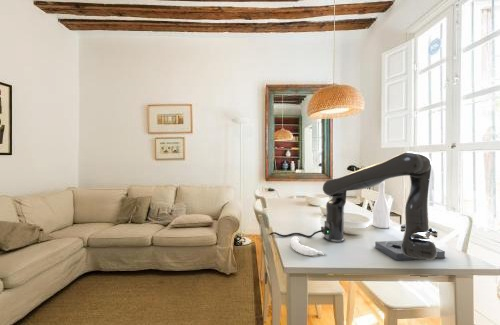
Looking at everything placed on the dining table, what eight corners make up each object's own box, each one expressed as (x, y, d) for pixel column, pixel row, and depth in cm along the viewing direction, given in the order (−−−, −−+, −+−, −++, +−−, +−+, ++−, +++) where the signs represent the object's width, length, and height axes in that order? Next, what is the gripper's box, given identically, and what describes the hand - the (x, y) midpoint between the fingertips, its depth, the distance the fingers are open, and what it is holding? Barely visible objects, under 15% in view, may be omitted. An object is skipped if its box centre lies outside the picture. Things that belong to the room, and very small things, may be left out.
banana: (288, 240, 121) (316, 241, 120) (292, 258, 102) (325, 259, 101) (288, 232, 121) (316, 233, 120) (293, 248, 102) (326, 249, 101)
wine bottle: (369, 224, 152) (370, 180, 152) (382, 224, 153) (383, 180, 153) (378, 228, 143) (380, 182, 142) (392, 228, 144) (393, 182, 143)
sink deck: (396, 260, 99) (396, 253, 99) (375, 247, 113) (375, 241, 113) (444, 257, 102) (444, 251, 102) (418, 245, 116) (418, 239, 116)
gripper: (440, 230, 92) (437, 221, 106) (398, 224, 101) (401, 216, 114) (439, 248, 92) (437, 236, 106) (398, 240, 101) (400, 230, 115)
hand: (418, 226), depth 110 cm, fingers open, 4 cm apart
